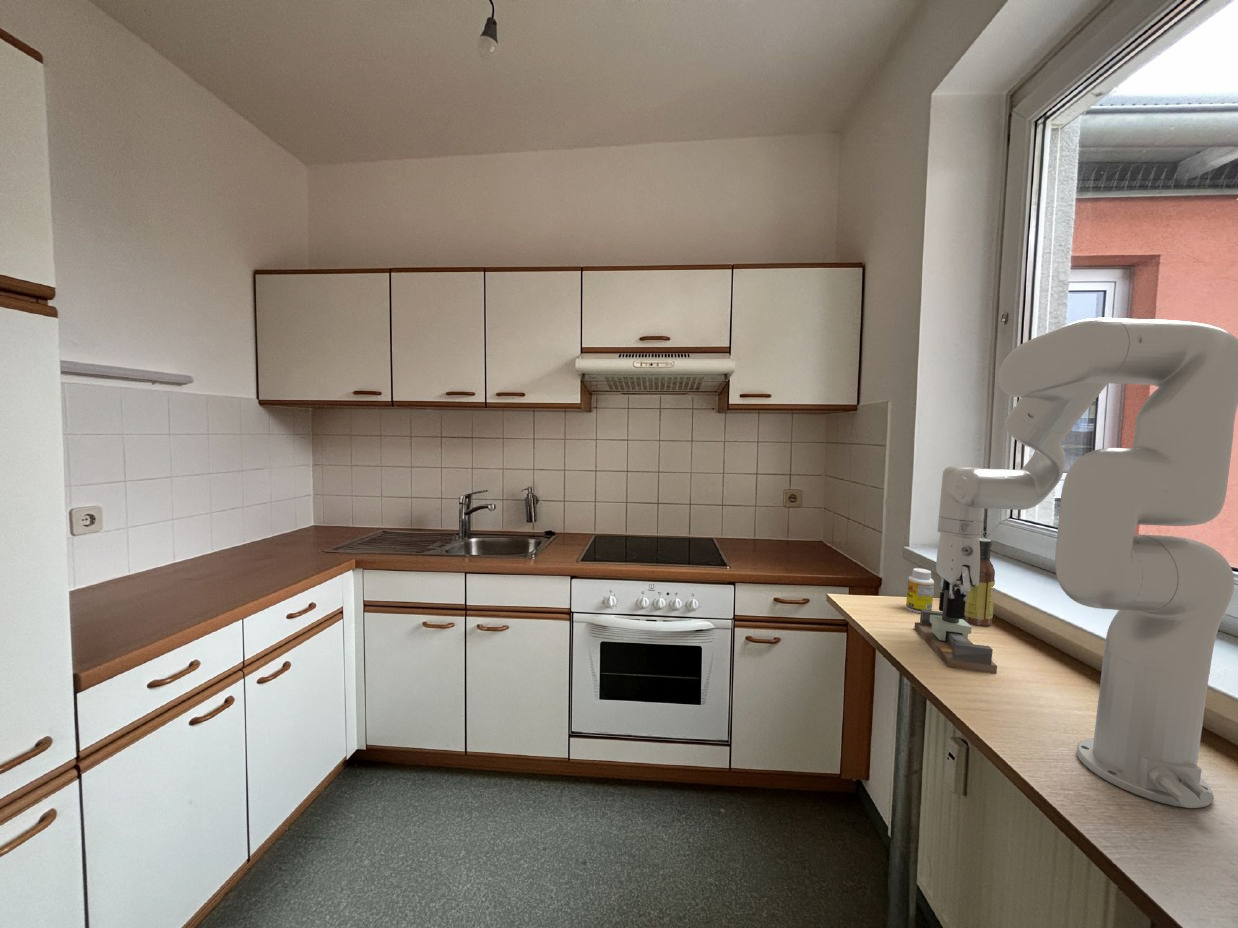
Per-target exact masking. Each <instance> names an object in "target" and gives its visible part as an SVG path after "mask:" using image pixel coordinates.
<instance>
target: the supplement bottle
mask: <svg viewBox="0 0 1238 928" xmlns="http://www.w3.org/2000/svg"><path fill="white" fill-rule="evenodd" d="M911 573H912V575H909V576H908V578H907V593H906V600H905V601H906V603H905V607H906V609H907V610H908V609H909V610H908V611H910V612H912V611H913V612H912V613H915V612H916V613H917V614H920V613H921V610H930V611H933V602H934V601H933V599H934V592H935V591H934V589H935V581H934V579H933V578H932V571H931V570H929V569H926V568H919V567H915V568H913V569H912V572H911ZM916 613H915V614H916Z"/></svg>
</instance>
